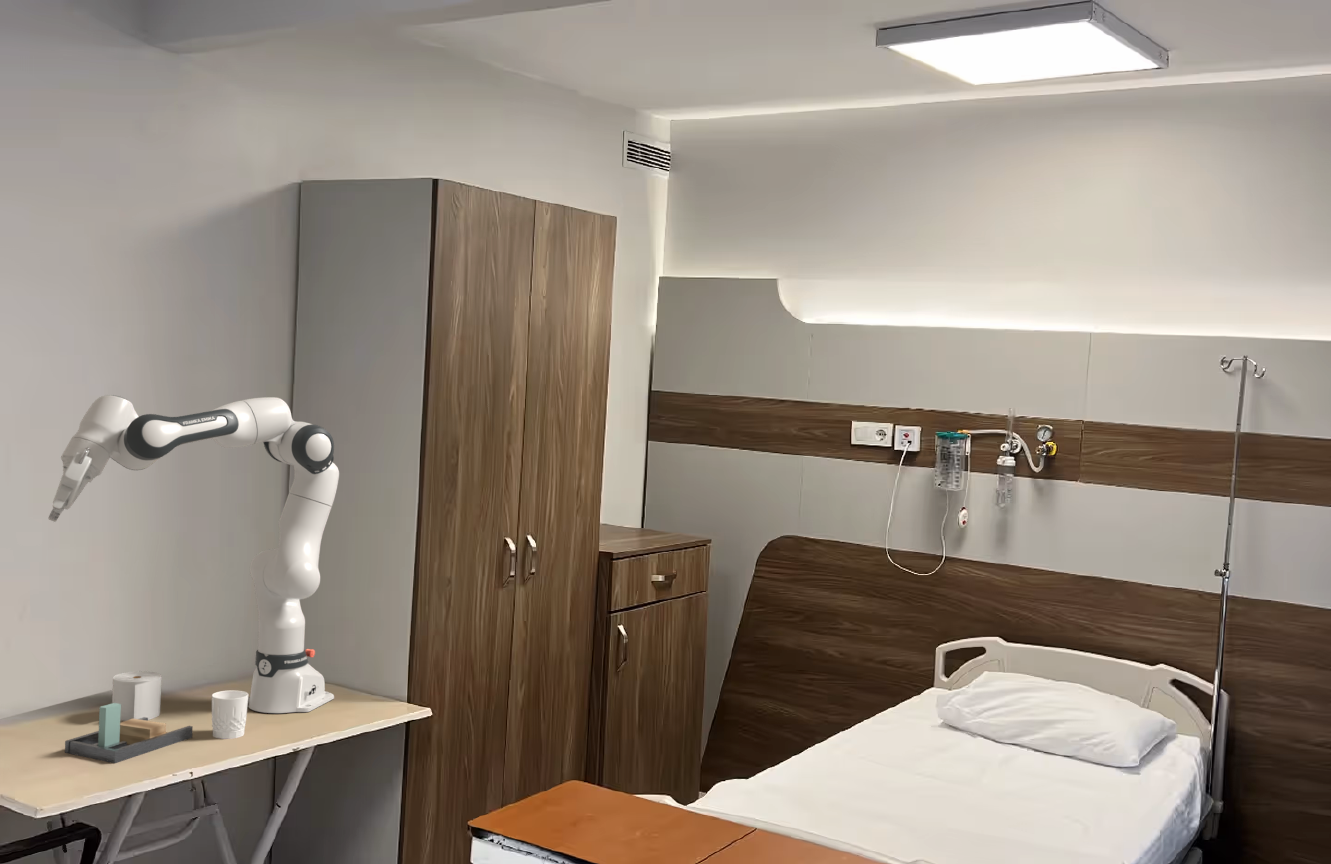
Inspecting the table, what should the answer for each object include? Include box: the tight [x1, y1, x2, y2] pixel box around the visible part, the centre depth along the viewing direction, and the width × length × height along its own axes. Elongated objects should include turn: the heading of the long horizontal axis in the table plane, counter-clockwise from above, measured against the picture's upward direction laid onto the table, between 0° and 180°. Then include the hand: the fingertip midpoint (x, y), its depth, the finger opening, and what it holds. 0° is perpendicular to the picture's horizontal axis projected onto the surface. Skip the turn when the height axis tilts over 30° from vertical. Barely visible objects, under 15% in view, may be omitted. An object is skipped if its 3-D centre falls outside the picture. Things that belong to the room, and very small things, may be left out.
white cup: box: [211, 689, 249, 740], centre depth 278 cm, size 8×8×10 cm
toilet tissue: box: [111, 670, 162, 722], centre depth 289 cm, size 11×12×10 cm
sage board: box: [98, 702, 121, 747], centre depth 261 cm, size 4×2×10 cm, turn 158°
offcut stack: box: [119, 719, 168, 745], centre depth 269 cm, size 6×10×4 cm, turn 68°
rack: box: [64, 717, 193, 764], centre depth 267 cm, size 22×14×3 cm, turn 158°
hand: (54, 514), depth 262 cm, fingers open, 8 cm apart
